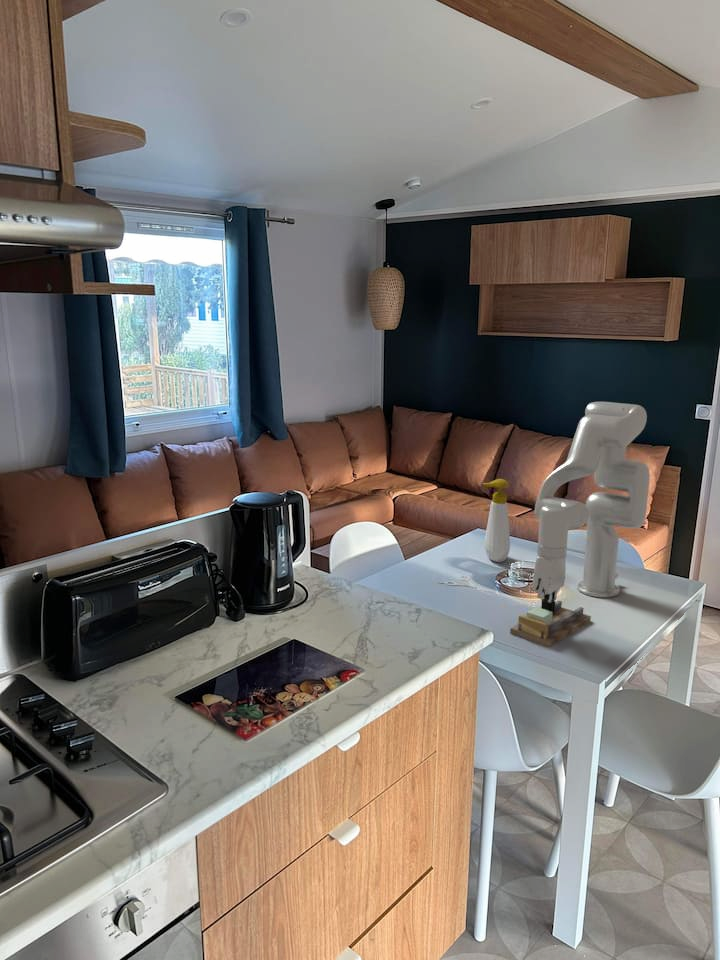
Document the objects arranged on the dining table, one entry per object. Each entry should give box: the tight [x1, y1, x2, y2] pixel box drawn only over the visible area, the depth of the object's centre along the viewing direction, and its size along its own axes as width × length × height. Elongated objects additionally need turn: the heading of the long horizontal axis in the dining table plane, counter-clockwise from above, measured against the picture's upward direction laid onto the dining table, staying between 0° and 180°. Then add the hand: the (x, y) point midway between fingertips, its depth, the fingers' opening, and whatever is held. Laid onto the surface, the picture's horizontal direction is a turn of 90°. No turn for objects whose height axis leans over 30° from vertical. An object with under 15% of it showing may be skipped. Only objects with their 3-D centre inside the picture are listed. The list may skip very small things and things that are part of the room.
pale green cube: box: [526, 606, 553, 626], centre depth 200 cm, size 5×5×5 cm
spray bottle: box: [481, 478, 511, 563], centre depth 257 cm, size 13×10×29 cm
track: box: [509, 600, 592, 648], centre depth 205 cm, size 23×12×6 cm, turn 137°
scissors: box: [438, 575, 499, 597], centre depth 235 cm, size 11×1×20 cm
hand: (547, 614), depth 203 cm, fingers closed
